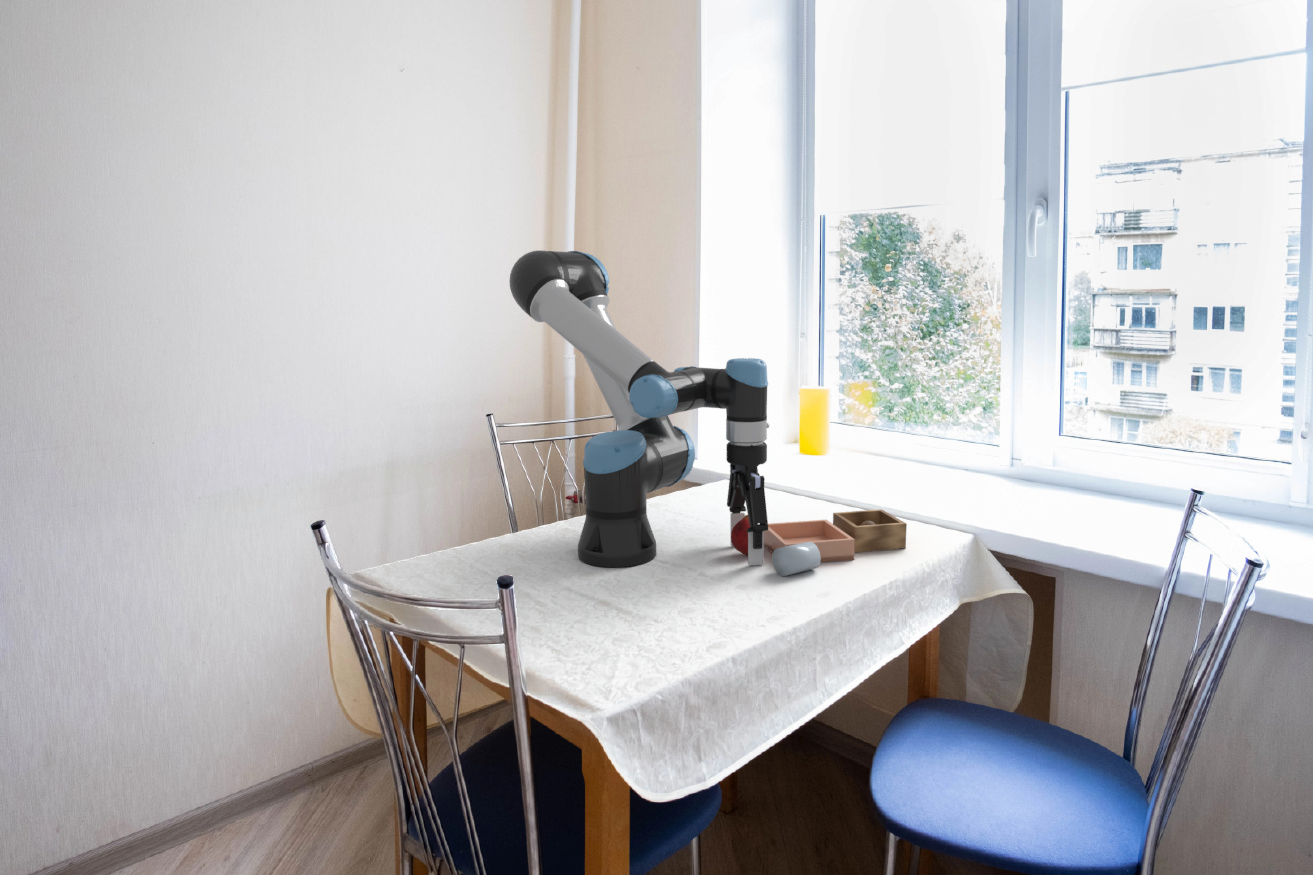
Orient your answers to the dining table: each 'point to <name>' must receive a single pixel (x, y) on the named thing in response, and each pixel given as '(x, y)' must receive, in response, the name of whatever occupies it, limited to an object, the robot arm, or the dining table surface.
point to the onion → (741, 535)
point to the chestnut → (867, 523)
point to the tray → (812, 538)
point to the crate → (872, 530)
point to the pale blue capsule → (796, 558)
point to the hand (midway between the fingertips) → (746, 554)
